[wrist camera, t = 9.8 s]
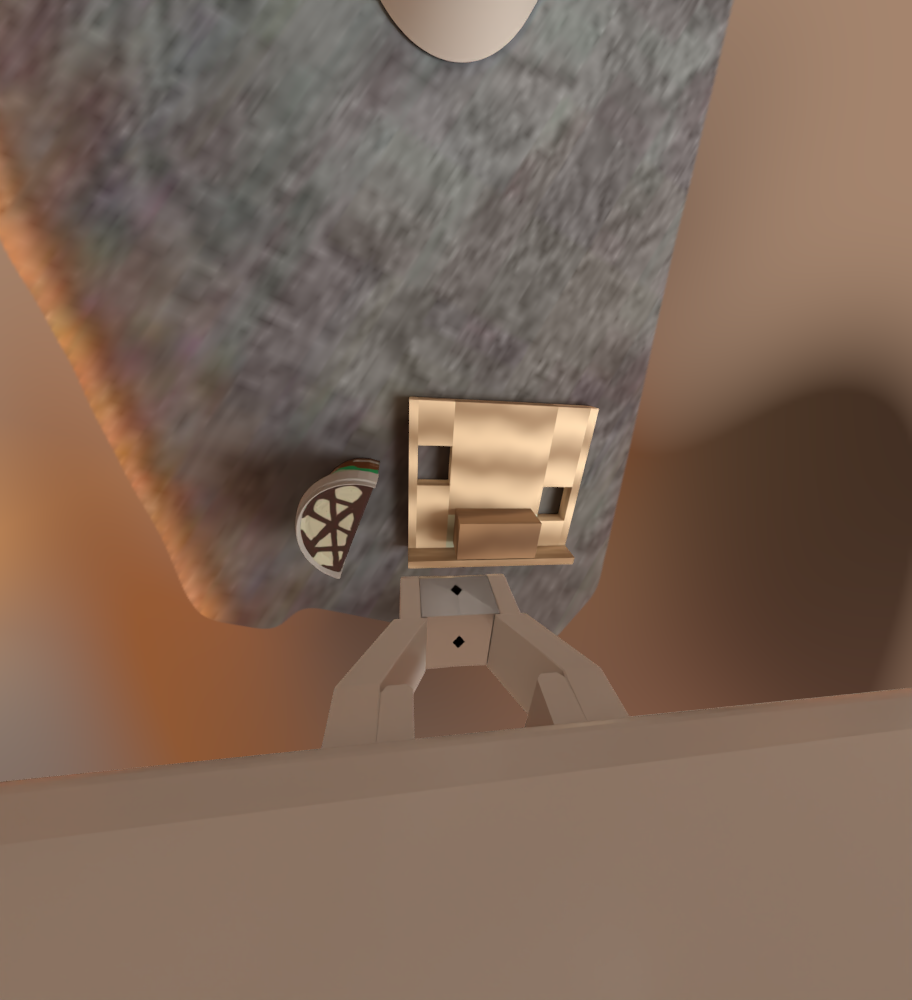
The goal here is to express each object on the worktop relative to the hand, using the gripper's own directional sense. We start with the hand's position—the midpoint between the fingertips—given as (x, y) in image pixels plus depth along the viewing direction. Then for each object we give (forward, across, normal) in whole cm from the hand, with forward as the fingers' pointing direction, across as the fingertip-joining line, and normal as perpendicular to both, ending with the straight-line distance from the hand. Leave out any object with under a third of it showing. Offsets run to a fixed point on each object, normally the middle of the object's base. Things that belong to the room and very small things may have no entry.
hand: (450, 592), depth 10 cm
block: (+29, -10, +15) cm, 34 cm away
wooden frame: (+31, -10, +9) cm, 34 cm away
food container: (+31, +9, +10) cm, 34 cm away
